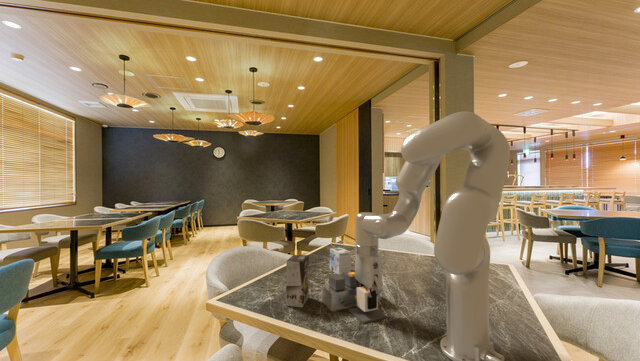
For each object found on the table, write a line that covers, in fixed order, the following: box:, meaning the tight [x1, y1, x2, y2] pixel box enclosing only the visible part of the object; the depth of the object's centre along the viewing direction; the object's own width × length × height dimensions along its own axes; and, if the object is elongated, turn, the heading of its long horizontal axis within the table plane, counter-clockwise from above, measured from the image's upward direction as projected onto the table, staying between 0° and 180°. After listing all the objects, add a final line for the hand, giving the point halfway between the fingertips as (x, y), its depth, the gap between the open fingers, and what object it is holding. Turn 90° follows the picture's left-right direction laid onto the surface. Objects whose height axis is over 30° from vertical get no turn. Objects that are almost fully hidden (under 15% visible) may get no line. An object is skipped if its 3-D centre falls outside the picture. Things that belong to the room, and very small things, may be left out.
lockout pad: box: [348, 306, 388, 324], centre depth 88 cm, size 9×9×1 cm
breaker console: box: [321, 283, 381, 312], centre depth 98 cm, size 8×20×6 cm, turn 113°
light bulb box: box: [329, 247, 352, 276], centre depth 132 cm, size 11×7×11 cm, turn 25°
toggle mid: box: [341, 270, 357, 287], centre depth 99 cm, size 6×4×4 cm, turn 23°
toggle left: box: [328, 273, 345, 291], centre depth 96 cm, size 6×4×4 cm, turn 23°
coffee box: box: [285, 254, 310, 308], centre depth 98 cm, size 9×6×16 cm
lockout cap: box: [356, 286, 379, 312], centre depth 88 cm, size 5×5×7 cm
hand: (367, 304), depth 88 cm, fingers closed on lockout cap, 4 cm apart
